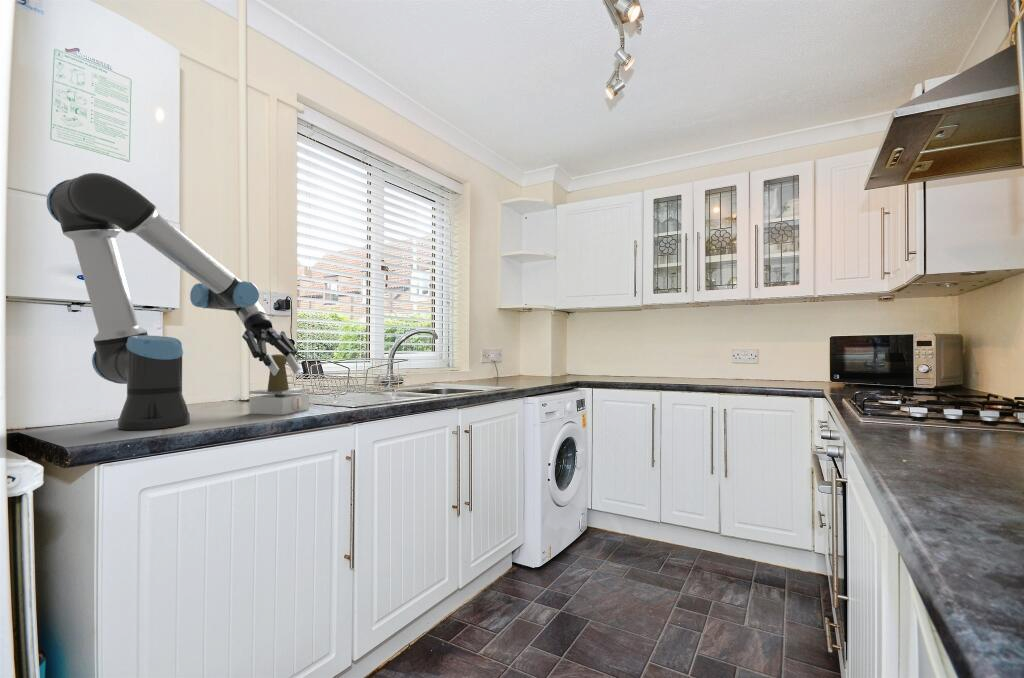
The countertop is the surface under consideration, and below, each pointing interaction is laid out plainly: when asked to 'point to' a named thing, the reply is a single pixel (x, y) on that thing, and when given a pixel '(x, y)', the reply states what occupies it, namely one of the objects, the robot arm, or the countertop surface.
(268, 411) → the kitchen scale
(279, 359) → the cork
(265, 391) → the scale pan
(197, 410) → the countertop surface
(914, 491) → the countertop surface
